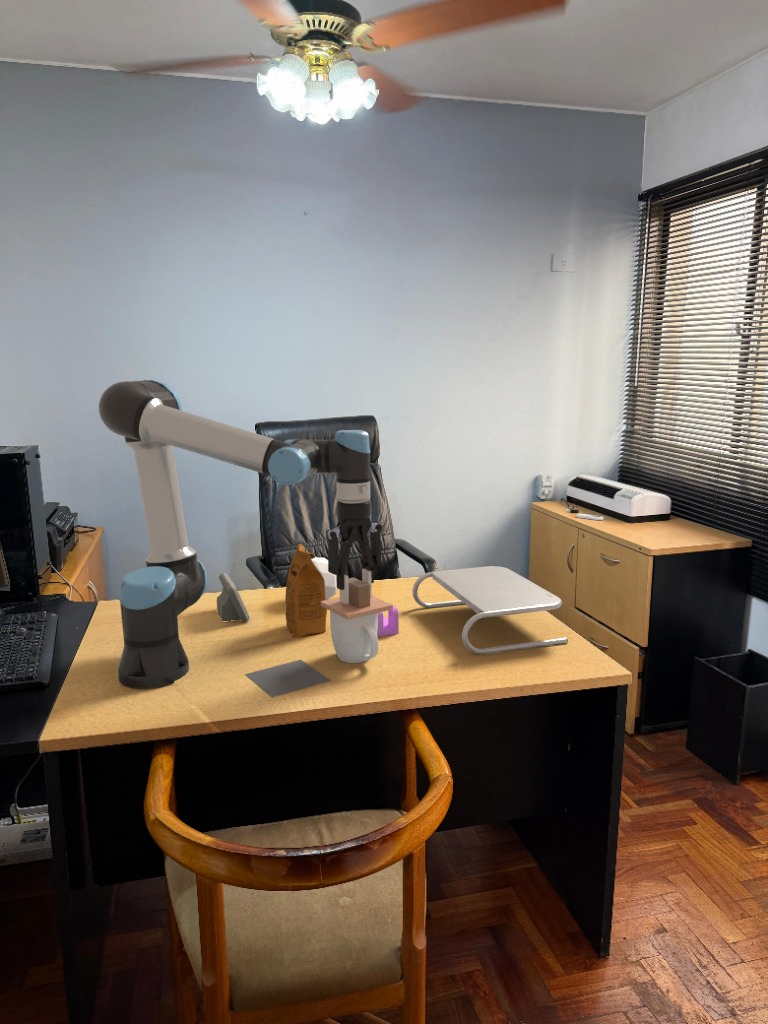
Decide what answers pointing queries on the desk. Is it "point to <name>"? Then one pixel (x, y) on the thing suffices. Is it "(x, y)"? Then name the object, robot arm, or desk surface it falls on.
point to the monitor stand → (492, 599)
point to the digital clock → (230, 602)
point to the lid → (357, 602)
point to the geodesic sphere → (326, 576)
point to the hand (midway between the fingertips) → (355, 599)
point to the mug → (354, 637)
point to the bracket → (388, 623)
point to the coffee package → (305, 596)
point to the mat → (287, 678)
